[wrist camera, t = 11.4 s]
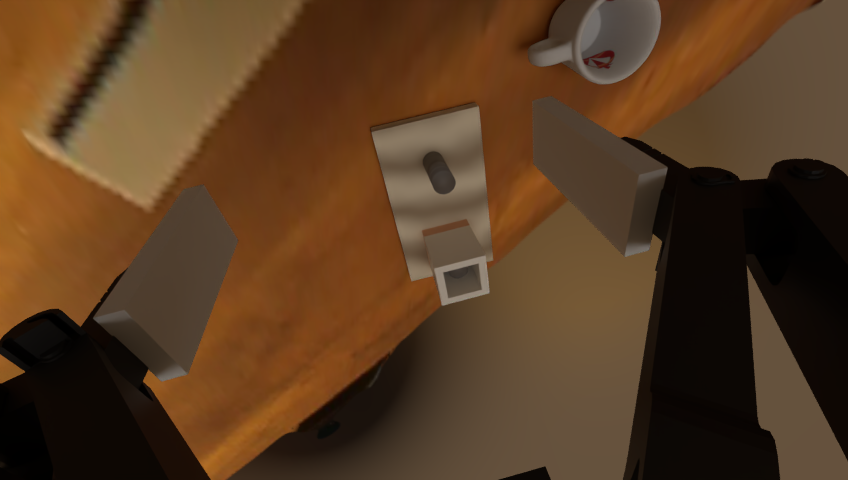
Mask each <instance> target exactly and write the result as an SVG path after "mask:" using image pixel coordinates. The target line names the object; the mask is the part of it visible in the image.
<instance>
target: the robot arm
mask: <svg viewBox="0 0 848 480" xmlns="http://www.w3.org/2000/svg"><path fill="white" fill-rule="evenodd" d="M533 164H534V165H535V166H536V167H537V168H538V169H539V170H540V171H541V172H542V173H543V174H544V175H545V176H546V177H547V178H548V179H549V180H550V181H551V182H552V183H553V184H554V185H555V186H556V187H557V189H558V190H559V191H560V192H561V193H562V194H563V195H564V196H565V197H566V198H567V199H568V200H569V201H570V202H571V203H572V204H573V205H574V206H575V207H576V208H577V209H578V210H579V211H580V212H581V213H582V214H583V215H584V216H585V217H586V218H587V219H588V220H589V221H590V222H591V223H592V224H593V225H594V226H595V227H596V228H597V229H598V230H599V231H600V232H601V233H602V234H603V235H604V236H605V237H606V238H607V239H608V240H609V241H610V242H611V243H612V245H614V247H615V248H617V249H618V251H619V252H620V253H621V254H622V255H623V256H624V257H626V256H630V255H633V254H637V253H641V252H644V251H648V250H649V249H650V244H651V240H652V235H653V234H654V235H655V236H657V237H658V238H659V239H660V240H661V241H662V245H661V249H660V253H659V258H658V261H657V265H656V269H655V270H656V271H657V273H656V280H655V287H654V292H653V299H652V305H651V312H650V318H649V324H648V331H647V337H646V343H645V350H644V356H643V362H642V369H641V375H640V381H639V388H638V394H637V400H636V407H635V414H634V419H633V426H632V432H631V438H630V445H629V451H628V457H627V463H626V468H625V473H624V477H623V480H780V474H779V464H778V455H777V449H776V444H775V440H774V438H773V436H772V435H771V432H770V431H767V430H764V429H762V428H761V427H760V425H759V423H758V417H757V405H756V391H755V376H754V362H753V348H752V334H751V321H750V307H749V291H748V278H747V266H748V268H749V270H750V272H751V273H752V276H753V278H754V279H755V281H756V283H757V285H758V287H759V289H760V291H761V293H762V295H763V297H764V299H765V301H766V303H767V305H768V307H769V309H770V310H771V313H772V314H773V316H774V318H775V320H776V322H777V324H778V326H779V328H780V330H781V332H782V334H783V336H784V338H785V340H786V342H787V344H788V346H789V348H790V349H791V351H792V353H793V355H794V357H795V359H796V361H797V363H798V365H799V367H800V369H801V371H802V373H803V375H804V377H805V378H806V381H807V383H808V384H809V386H810V388H811V390H812V392H813V394H814V396H815V398H816V400H817V402H818V404H819V406H820V408H821V410H822V411H823V414H824V416H825V418H826V419H827V421H828V423H829V425H830V427H831V429H832V431H833V433H834V435H835V437H836V439H837V441H838V443H839V445H840V446H841V448H842V451H843V452H844V454H845V456H846V458H847V460H848V176H847V175H846V174H845V173H844V172H843V171H841V170H840V169H838V168H837V167H835V166H833V165H830V164H827V163H824V162H823V161H820V160H813V159H789V160H783V161H780V162H777V163H775V164H774V165H773V167H772V168H771V171H770V173H769V176H768V178H767V179H756V180H741V181H740V180H739V178H738V176H736V175H735V174H733V173H732V172H730V171H727V170H724V169H721V168H714V167H695V168H690V169H689V168H687V167H685V166H684V165H682V164H680V163H678V162H677V161H675V160H673V159H671V158H670V157H668V156H666V155H665V154H661V152H659V151H658V150H656V149H652V147H651V146H649V145H647V144H646V143H644V142H642V141H640V140H636V139H632V138H628V137H622V138H619V137H617V136H616V135H614V134H612V133H611V132H609V131H607V130H606V129H604V128H603V127H601V126H599V125H598V124H596V123H594V122H593V121H591V120H589V119H588V118H586V117H585V116H583V115H581V114H580V113H578V112H576V111H575V110H573V109H571V108H570V107H568V106H567V105H565V104H563V103H562V102H560V101H558V100H557V99H555V98H553V97H552V96H550V97H546V98H542V99H538V100H534V101H533ZM237 242H238V239H237V238H236V236H235V235H234V233H233V231H232V230H231V228H230V227H229V225H228V223H227V222H226V220H225V218H224V217H223V215H222V214H221V212H220V210H219V209H218V207H217V205H216V204H215V202H214V201H213V199H212V197H211V196H210V194H209V193H208V191H207V189H206V188H205V186H204V184H203V185H199V186H195V187H191V188H187V189H184V190H183V191H182V192H181V194H180V195H179V197H178V198H177V199H176V201H175V202H174V204H173V205H172V207H171V208H170V209H169V211H168V212H167V214H166V215H165V216H164V218H163V219H162V221H161V222H160V224H159V225H158V226H157V228H156V229H155V231H154V232H153V233H152V235H151V236H150V238H149V239H148V241H147V242H146V243H145V245H144V246H143V248H142V249H141V250H140V252H139V253H138V255H137V256H136V258H135V259H134V260H133V262H132V263H131V265H130V266H129V267H128V268H127V269H126V270H125V271H124V272H122V273H121V274H120V275H119V276H118V277H117V278H116V279H115V280H114V282H113V283H112V284H111V286H110V287H109V288H108V290H107V291H108V292H106V293H105V294H104V295H103V297H102V298H101V300H100V301H101V302H99V303H98V304H97V305H96V306H95V308H94V309H93V311H92V312H91V313H90V315H89V316H88V318H87V319H86V320H85V322H84V323H83V324H82V326H81V327H80V326H79V325H77V324H76V323H75V322H74V321H73V320H72V319H71V318H69V317H68V316H67V315H66V314H65V313H64V312H63V311H61V310H59V309H49V310H46V311H43V312H40V313H37V314H35V315H33V316H31V317H29V318H27V319H25V320H24V321H22V322H21V323H19V324H18V325H16V326H15V327H13V328H12V329H11V330H10V331H9V332H7V333H6V334H5V335H4V336H3V337H2V338H1V340H0V354H1V355H2V356H4V357H5V358H7V359H8V360H9V361H11V362H12V363H14V364H15V365H17V366H18V367H19V368H21V369H22V370H24V371H25V373H23V374H21V375H19V376H17V377H14V378H12V379H10V380H8V381H6V382H4V383H0V480H211V479H210V478H209V476H208V475H207V473H206V472H205V470H204V469H203V467H202V466H201V464H200V463H199V461H198V460H197V458H196V457H195V455H194V454H193V452H192V451H191V449H190V448H189V446H188V444H187V443H186V441H185V440H184V438H183V437H182V435H181V434H180V432H179V431H178V429H177V428H176V426H175V425H174V423H173V422H172V420H171V419H170V417H169V416H168V414H167V413H166V411H165V410H164V408H163V407H162V405H161V404H160V402H159V400H158V399H157V397H156V396H155V394H154V393H153V391H152V390H151V388H149V387H148V386H147V385H146V384H145V383H144V382H143V379H144V377H145V375H146V373H147V371H148V369H149V370H150V371H151V372H152V373H153V374H154V375H155V376H156V377H157V378H158V379H159V380H161V381H165V380H168V379H172V378H176V377H179V376H183V375H187V374H188V373H189V370H190V367H191V365H192V362H193V359H194V357H195V354H196V351H197V349H198V346H199V343H200V341H201V338H202V335H203V333H204V330H205V327H206V325H207V322H208V319H209V317H210V314H211V311H212V309H213V306H214V303H215V301H216V298H217V295H218V293H219V290H220V287H221V285H222V282H223V279H224V277H225V274H226V271H227V269H228V266H229V263H230V261H231V258H232V255H233V253H234V250H235V247H236V245H237ZM500 480H551V479H550V477H549V474H548V472H547V469H546V467H542V468H538V469H535V470H531V471H528V472H524V473H521V474H517V475H514V476H510V477H507V478H503V479H500Z"/></svg>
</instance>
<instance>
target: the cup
mask: <svg viewBox="0 0 848 480" xmlns="http://www.w3.org/2000/svg"><path fill="white" fill-rule="evenodd" d="M660 23H661V12H660V7H659V3H658V1H657V0H565V1H564V2H563V3H562V4H561V5H560V6H559V8H558V9H557V10H556V12H555V14H554V15H553V18H552V20H551V23H550V27H549V34H548V39H545V40H542V41H540V42H537V43H535V44H533V45H532V46H530V47H529V49H528V59H529V61H530V63H531V64H533V65H535V66H550V65H554V64H557V63H560V62H562V63H563V64H565V65H566V66H568V67H569V68H571V69H572V70H574V71H575V72H577V73H578V74H580V75H581V76H583V77H584V78H586V79H587V80H589V81H591V82H593V83H597V84H611V83H615V82H618V81H620V80H623V79H624V78H626V77H628V76H629V75H631V74H632V73H633V72H635V71H636V70H637V69H638V68H639V67H640V66H641V65H642V64H643V62H644V61H645V60H646V59H647V57H648V56H649V54H650V53H651V51H652V49H653V47H654V45H655V43H656V40H657V37H658V34H659V30H660Z"/></svg>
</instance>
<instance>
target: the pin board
mask: <svg viewBox="0 0 848 480" xmlns="http://www.w3.org/2000/svg"><path fill="white" fill-rule="evenodd" d="M371 133H372V136H373V140H374V144H375V148H376V151H377V155H378V159H379V162H380V166H381V170H382V173H383V177H384V181H385V185H386V188H387V192H388V196H389V199H390V203H391V207H392V211H393V214H394V218H395V222H396V225H397V229H398V233H399V236H400V240H401V244H402V248H403V251H404V255H405V259H406V262H407V266H408V270H409V274H410V277H411V281H414V280H418V279H422V278H426V277H430V276H433V274H432V271H431V268H430V264H429V260H428V255H427V251H426V246H425V242H424V238H423V233H422V230H425V229H429V228H433V227H437V226H441V225H445V224H449V223H453V222H457V221H460V220H464V219H467V221H468V223H469V225H470V227H471V228H472V230H473V232H474V234H475V236H476V238H477V240H478V242H479V244H480V246H481V248H482V249H483V251H484V253H485V255H486V262H488V261H491V260H493V254H492V243H491V232H490V222H489V211H488V200H487V189H486V179H485V168H484V157H483V146H482V136H481V125H480V114H479V106H478V105H477V104H476V103H471V104H467V105H463V106H458V107H454V108H450V109H446V110H442V111H438V112H434V113H429V114H425V115H421V116H417V117H413V118H409V119H405V120H400V121H396V122H392V123H388V124H384V125H380V126H376V127H371ZM467 272H468V266H466V267H463V268H459V269H455V270H451V271H449V274H450V276H451V277H453V278H462V277H464V276H465V275H466V274H467Z"/></svg>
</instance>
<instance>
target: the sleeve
mask: <svg viewBox="0 0 848 480" xmlns="http://www.w3.org/2000/svg"><path fill="white" fill-rule="evenodd" d="M422 233H423V238H424V242H425V246H426V251H427V255H428V260H429V264H430V268H431V271H432V274H433V277H434V281H435V284H436V287H437V290H438V294H439V297H440V300H441V303H442V305H446V304H450V303H454V302H457V301H461V300H465V299H469V298H473V297H476V296H480V295H484V294H488V293H490V292H489V283H488V273H487V264H486V255H485V253H484V251H483V249H482V248H481V246H480V244H479V242H478V240H477V238H476V236H475V234H474V232H473V230H472V228H471V227H470V225H469V223H468V221H467V219H464V220H460V221H457V222H453V223H449V224H445V225H441V226H437V227H433V228H429V229H425V230H422ZM466 266H468V272H467V274H466V275H465V276H464V277H462V278H453V277H451V276H450V274H449V271H451V270H455V269H459V268H463V267H466Z"/></svg>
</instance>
